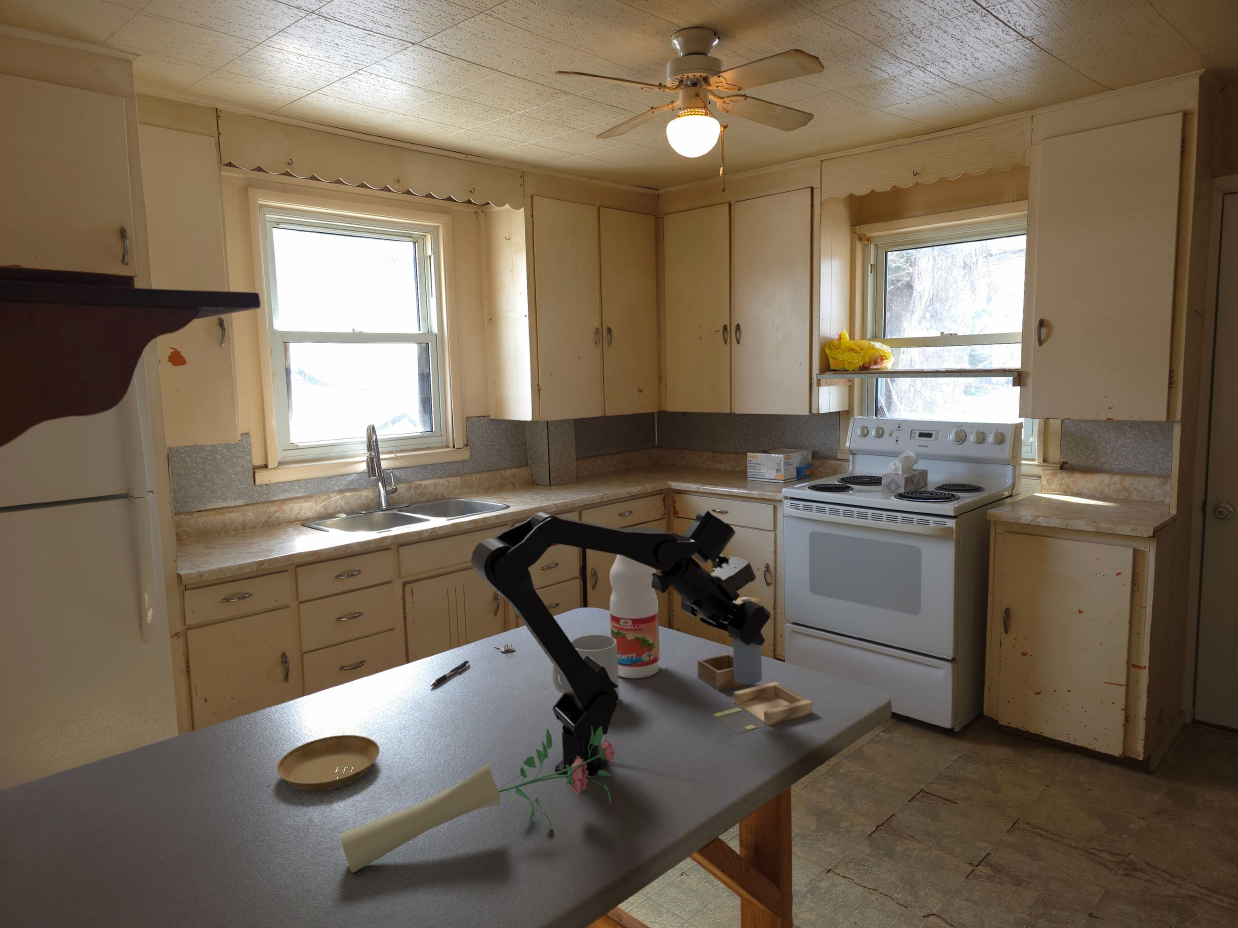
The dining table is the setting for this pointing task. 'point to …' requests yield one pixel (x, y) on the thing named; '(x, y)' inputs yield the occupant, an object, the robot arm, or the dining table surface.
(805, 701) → the light wooden tray
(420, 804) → the flower vase
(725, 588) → the robot arm
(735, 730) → the pad
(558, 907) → the dining table surface
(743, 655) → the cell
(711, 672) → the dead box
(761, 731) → the dining table surface
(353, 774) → the plant saucer
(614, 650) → the mug
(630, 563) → the fruit juice
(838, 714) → the dining table surface
